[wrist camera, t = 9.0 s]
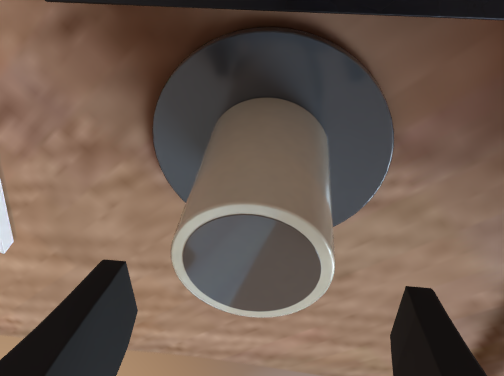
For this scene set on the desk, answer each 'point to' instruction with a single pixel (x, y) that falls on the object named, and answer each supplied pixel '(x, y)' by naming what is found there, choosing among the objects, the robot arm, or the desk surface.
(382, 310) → the desk surface
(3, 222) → the photo frame
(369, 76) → the coaster
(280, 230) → the cup
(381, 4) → the shelf
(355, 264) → the desk surface
